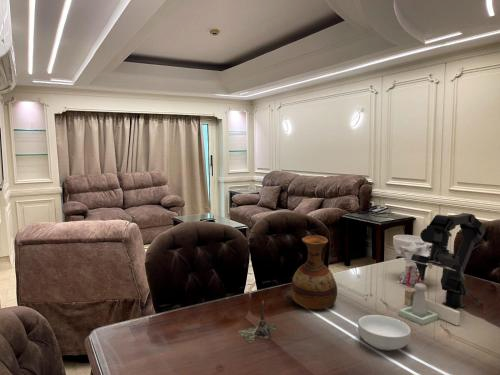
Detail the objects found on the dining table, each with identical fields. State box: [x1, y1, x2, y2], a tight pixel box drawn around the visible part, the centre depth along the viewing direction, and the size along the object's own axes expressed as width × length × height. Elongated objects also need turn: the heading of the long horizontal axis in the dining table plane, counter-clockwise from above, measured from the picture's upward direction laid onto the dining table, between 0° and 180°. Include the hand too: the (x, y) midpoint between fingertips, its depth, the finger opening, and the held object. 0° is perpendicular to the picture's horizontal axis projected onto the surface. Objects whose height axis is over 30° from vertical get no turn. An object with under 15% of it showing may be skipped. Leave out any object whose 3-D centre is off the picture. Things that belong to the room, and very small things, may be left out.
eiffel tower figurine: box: [238, 300, 278, 344], centre depth 131 cm, size 15×10×13 cm
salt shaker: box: [411, 282, 427, 318], centre depth 147 cm, size 6×6×13 cm
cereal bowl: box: [357, 314, 412, 351], centre depth 124 cm, size 17×17×7 cm
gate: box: [412, 294, 461, 326], centre depth 149 cm, size 2×20×5 cm, turn 27°
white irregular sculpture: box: [392, 234, 434, 287], centre depth 187 cm, size 25×19×23 cm
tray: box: [398, 306, 439, 326], centre depth 147 cm, size 10×10×2 cm
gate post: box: [403, 288, 416, 307], centre depth 160 cm, size 3×3×7 cm
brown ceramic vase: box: [290, 234, 338, 310], centre depth 158 cm, size 20×20×30 cm
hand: (432, 283), depth 150 cm, fingers open, 9 cm apart
